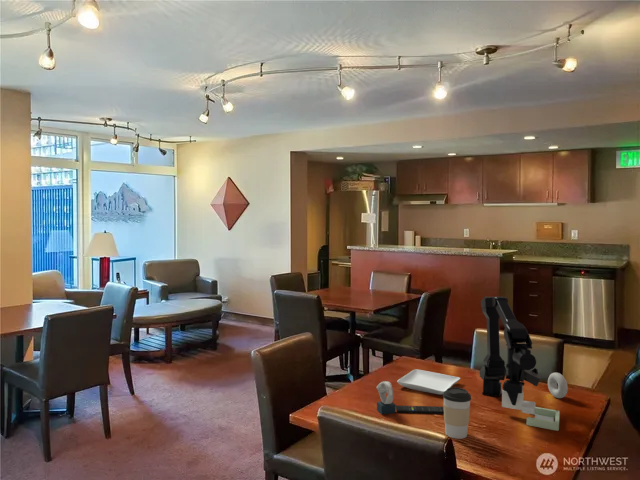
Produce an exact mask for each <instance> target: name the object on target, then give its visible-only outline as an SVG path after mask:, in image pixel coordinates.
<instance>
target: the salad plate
mask: <svg viewBox="0 0 640 480" xmlns="http://www.w3.org/2000/svg"><path fill="white" fill-rule="evenodd" d="M460 380H461V377H459V376H453V375H449V374H443V373H439V372H434V371H428V370H424V369H423V370H422V369H416V368H415V369H413V370H411V371H410V372H408V373H407V374H405V375H404V376H402V377H400V378H399V379H398V380H397V381H396V382H397V383H398V385H400V386H402V387H404V388H407V389H411V390H413V391H418V392H424V393H429V394H433V395H440V396H443V392H444V391H446V390H447V389H448V388H453V387H454V385H456V384H457V383H458V382H459V381H460Z"/></svg>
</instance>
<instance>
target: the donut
mask: <svg viewBox="0 0 640 480" xmlns="http://www.w3.org/2000/svg"><path fill="white" fill-rule="evenodd" d="M547 387H548V391H549V392H550V394H551V396H553V398H557V399H562V398H564V397H565V396H567V393H568V390H569V388H568V381H567V380H566V378H565V377H564V375H563V374H561V373H560V372H551V373H550V374H549V376H548V379H547Z"/></svg>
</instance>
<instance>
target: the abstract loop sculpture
mask: <svg viewBox="0 0 640 480" xmlns="http://www.w3.org/2000/svg"><path fill="white" fill-rule="evenodd" d="M392 385H393V384H392V383H391V382H390V381H386V380H384V381H381V382H380V383H378V384H377V386H376V389H377V391H378V394H379V397H380V401H376V411H377V412H378V413H379V414H380V415H391V414H395V413H396V411H397V410H396V405H397V404H395V403H394V402H393V400H394V388H393V386H392Z"/></svg>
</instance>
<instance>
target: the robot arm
mask: <svg viewBox="0 0 640 480" xmlns="http://www.w3.org/2000/svg"><path fill="white" fill-rule="evenodd" d="M480 307H481V310H482V311H481V312H482V313H483V315H484V317H485V319H486V348H487V349H486V356H485V357H484V358H483V361H482V362H483V363H482V364H483V365H482V366H481V367H480V370H479V377H480V378H481V379H482V380H483V381H482V382H483V383H482V392H481V393H482V394H481V395H484V396H490V397H496V398H497V397H498V398H499V397H500V396H501V395H502V390H504V391H507V394H508V396H509V398H510V401H511V403H512V405H516V401H517V397H518V393H522V392H524V391H523V390H524V386H525V382H527V383H529V384H532V385H533V386H534V387H538V385H539V383H540V382H541V379H542V375H541V374H540V373H539V369H538V368H537V367H536V365H537V359H536V357H535V356H534V355H533V354H532V352H531V349H532V350H533V346H532V345H533V341H532V339H531V336H530V334H529V332H528V330H527V328H526V327H525V326H524V324H523V323H522V322H519V321H518V320H517V318H516V316H515V314H514V312H513V310H512V308H511V306H510V305H509V300H508V298H507V297H506V296H483V298H482V299H481V300H480ZM500 320H501V322H502V324H503V327H504V330H503V337H504V340H505V345H506V346H507V348H506V351H507V352H506V354H507V355H506V363H505V360H504V359H503V358H502V357H501V354H500V352H501V350H500V346H501V345H500ZM505 379H506V380H505ZM501 381H503V383H502V382H501Z"/></svg>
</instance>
